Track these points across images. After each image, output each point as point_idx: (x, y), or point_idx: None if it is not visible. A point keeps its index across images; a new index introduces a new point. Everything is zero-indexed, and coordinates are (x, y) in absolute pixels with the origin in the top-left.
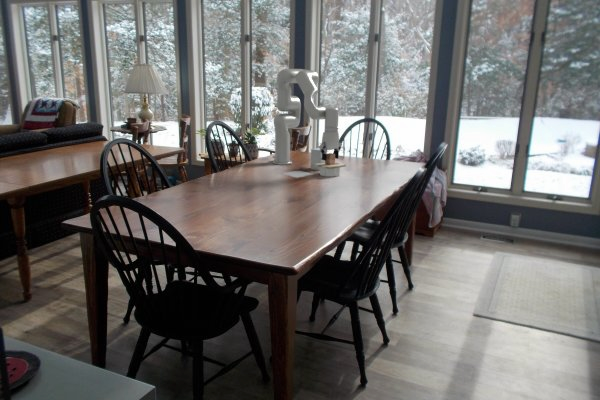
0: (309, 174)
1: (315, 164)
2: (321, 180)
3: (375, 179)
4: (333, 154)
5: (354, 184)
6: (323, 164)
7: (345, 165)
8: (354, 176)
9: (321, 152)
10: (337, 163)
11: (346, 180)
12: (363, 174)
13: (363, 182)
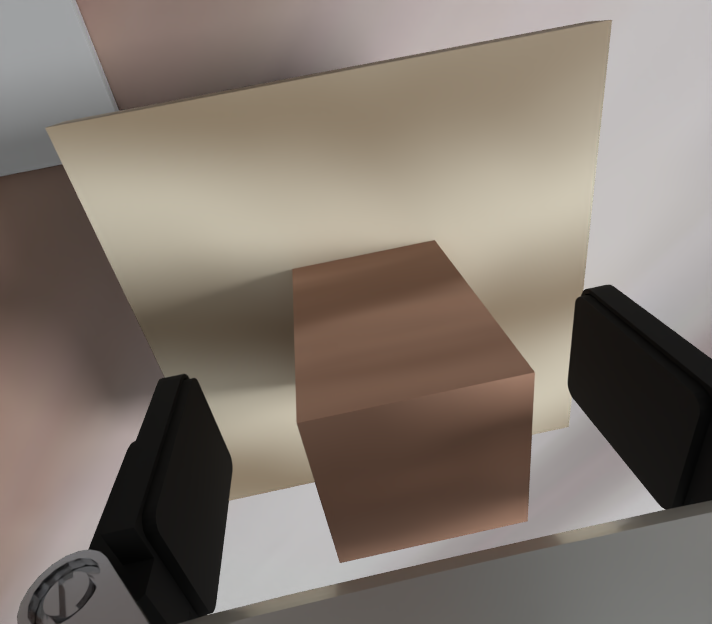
0: (30, 100)
1: (74, 181)
2: (114, 420)
3: (602, 511)
4: (464, 532)
5: (340, 581)
6: (239, 291)
7: (556, 421)
8: None
9: (41, 595)
10: (542, 307)
11: None
12: (702, 346)
13: (446, 554)
